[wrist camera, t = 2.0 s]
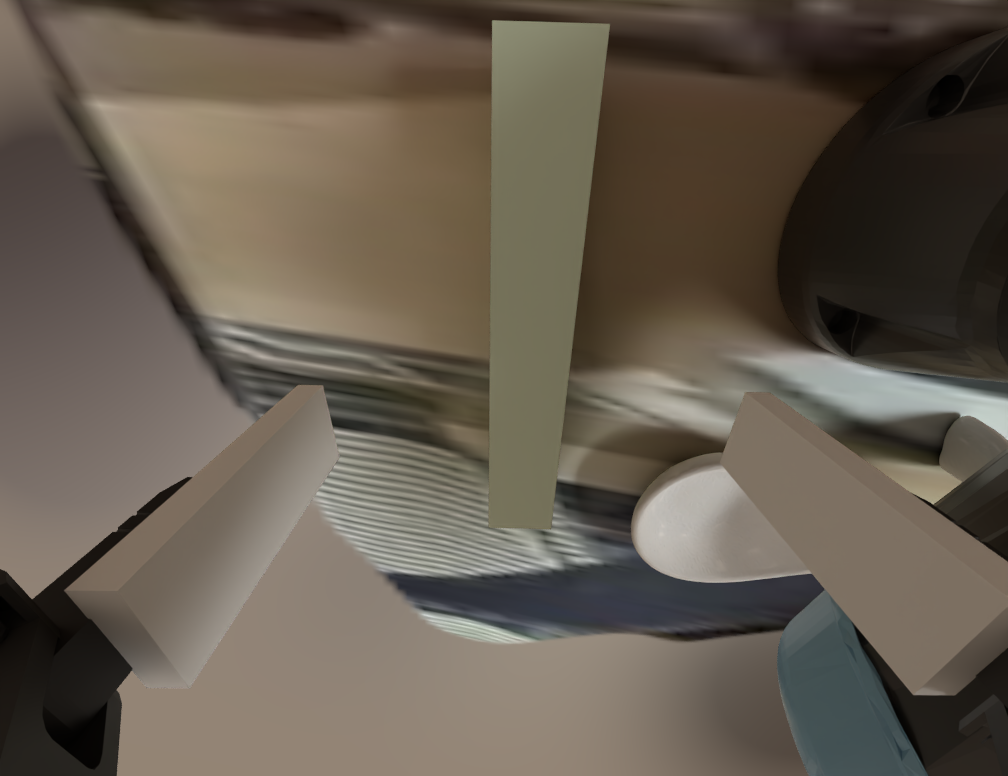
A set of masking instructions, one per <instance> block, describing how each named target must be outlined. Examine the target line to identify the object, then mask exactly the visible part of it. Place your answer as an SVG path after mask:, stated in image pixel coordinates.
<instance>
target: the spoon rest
mask: <svg viewBox="0 0 1008 776" xmlns="http://www.w3.org/2000/svg"><path fill="white" fill-rule="evenodd" d="M1007 448H1008V440H1006V439H1005V438H1004V437H1003V436H1002V435H1001V434H999V433H998V432H997V431H995V430H994V429H992V428H991V427H989V426H987V425H986V424H984V423H983V422H981V421H979V420H978V419H976V418H974V417H971V416H963V417H960V418H958V419H957V420H956V421H955V422H954V423H953V424H952V425H951V427H950V428H949V430H948V432H947V434H946V436H945V439H944V444H943V449H942V452H941V454H940V458H939V464H940V466H941V468H943V469H944V470H945V471H947V472H948V473H950V474H952V475H953V476H954V477H956V478H957V479H959V480H960V481H962V482H964V481H965V480H966V479H968V478H969V477H970V476H972V475H973V474H974V473H976V472H977V471H978V470H980V469H981V468H982V467H983V466H985V465H986V464H987V463H989V462H990V461H991V460H993V459H994V458H995V457H997V456H998V455H999V454H1001V453H1002V452H1003V451H1004V450H1006V449H1007ZM722 455H723V453H710V454H704V455H700V456H696V457H693V458H690V459H687V460H685V461H682V462H680V463H678V464H676V465H674V466H672V467H671V468H669V469H667V470H666V471H665V472H663V473H662V474H661V475H659V476H658V477H657V478H656V479H655V480H654V481H653V482H652V483H651V484H650V485H649V486H648V488H647V489H646V490H645V491H644V493H643V494H642V496H641V497H640V499H639V501H638V503H637V505H636V507H635V509H634V513H633V517H632V522H631V536H632V541H633V544H634V547H635V549H636V550H637V552H638V554H639V555H640V556H641V558H642V559H643V560H644V561H645V562H646V563H648V564H649V565H650V566H651V567H652V568H654V569H656V570H657V571H659V572H661V573H664V574H666V575H669V576H671V577H675V578H678V579H683V580H689V581H697V582H714V583H718V582H738V581H748V580H758V579H766V578H775V577H783V576H791V575H800V574H811V572H810V571H809V569H808V568H807V567H806V566H805V564H804V563H803V562H802V561H801V560H800V558H799V557H798V556H797V555H796V554H795V552H794V551H793V550H792V549H791V548H790V546H789V545H788V544H787V543H786V542H785V540H784V539H783V538H782V537H781V536H780V534H779V533H778V532H777V531H776V530H775V528H774V527H773V526H772V525H771V524H770V522H769V521H768V520H767V519H766V518H765V516H764V515H763V514H762V513H761V512H760V510H759V509H758V508H757V507H756V506H755V504H754V503H753V502H752V501H751V500H750V498H749V497H748V496H747V495H746V494H745V492H744V491H743V490H742V489H741V488H740V486H739V485H738V484H737V483H736V482H735V480H734V479H733V478H732V477H731V476H730V474H729V473H728V472H727V471H726V470H725V468H724V467H723V466H722V465H721V464H720V460H721V457H722Z"/></svg>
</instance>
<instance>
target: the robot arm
mask: <svg viewBox="0 0 1008 776" xmlns="http://www.w3.org/2000/svg"><path fill="white" fill-rule="evenodd" d="M778 279H779V288H780V294H781V298H782V302H783V304H784V307H785V310H786V312H787V314H788V316H789V318H790V319H791V321H792V323H793V324H794V325H795V327H796V328H797V329H798V330H799V331H800V332H801V333H802V334H803V335H804V336H805V337H806V338H807V339H808V340H810V341H811V342H813V343H814V344H816V345H818V346H820V347H821V348H823V349H826V350H828V351H830V352H832V353H835V354H837V355H839V356H841V357H844V358H846V359H848V360H851V361H853V362H855V363H859V364H862V365H866V366H870V367H874V368H879V369H886V370H894V371H904V372H913V373H923V374H932V375H941V376H951V377H960V378H970V379H979V380H989V381H998V382H1007V383H1008V27H1006V28H1003V29H1000V30H997V31H994V32H992V33H989V34H986V35H983V36H980V37H978V38H975V39H972V40H969V41H966V42H964V43H961V44H958V45H956V46H954V47H951V48H949V49H947V50H945V51H942V52H940V53H938V54H937V55H935V56H933V57H931V58H929V59H927V60H925V61H924V62H922V63H920V64H919V65H917V66H915V67H914V68H912V69H911V70H909V71H908V72H906V73H905V74H903V75H902V76H900V77H899V78H897V79H896V80H895V81H893V82H892V83H891V84H889V85H888V86H887V87H885V88H884V89H883V90H882V91H881V92H879V93H878V94H877V95H876V96H875V97H873V98H872V99H871V100H870V101H869V102H868V103H867V104H866V105H865V106H864V107H863V108H861V109H860V110H859V111H858V112H857V113H856V114H855V115H854V116H853V118H852V119H851V120H850V121H849V122H848V123H847V124H846V125H845V126H844V127H843V128H842V130H841V131H840V132H839V133H838V134H837V135H836V137H835V138H834V139H833V140H832V142H831V143H830V144H829V145H828V147H827V148H826V149H825V151H824V152H823V153H822V155H821V156H820V158H819V159H818V161H817V162H816V164H815V165H814V167H813V168H812V170H811V171H810V173H809V175H808V177H807V178H806V180H805V182H804V184H803V185H802V187H801V189H800V191H799V193H798V195H797V197H796V200H795V202H794V204H793V207H792V209H791V212H790V214H789V217H788V220H787V223H786V226H785V229H784V233H783V237H782V241H781V247H780V253H779V263H778ZM339 457H340V456H339V452H338V448H337V443H336V439H335V435H334V431H333V426H332V422H331V418H330V414H329V410H328V405H327V401H326V397H325V393H324V388H323V385H297V386H296V387H295V388H294V389H293V390H292V391H291V392H289V393H288V394H287V395H286V396H285V397H284V398H283V399H281V400H280V401H279V402H278V403H277V404H276V405H275V406H274V407H272V408H271V409H270V410H269V411H268V412H267V413H266V414H264V415H263V416H262V417H261V418H260V419H259V420H258V421H256V422H255V423H254V424H253V425H252V426H251V427H250V428H248V429H247V430H246V431H245V432H244V433H243V434H242V435H241V436H240V437H238V438H237V439H236V440H235V441H234V442H233V443H232V444H230V445H229V446H228V447H227V448H226V449H225V450H223V451H222V452H221V453H220V454H219V455H218V456H217V457H216V458H214V459H213V460H212V461H211V462H210V463H209V464H208V465H206V466H205V467H204V468H203V469H202V470H201V471H200V472H198V473H197V474H196V475H195V476H194V477H187V478H185V479H183V480H181V481H180V482H178V483H176V484H174V485H173V486H171V487H169V488H167V489H165V490H164V491H162V492H160V493H159V494H157V495H156V496H155V497H154V498H153V499H152V500H151V501H149V502H148V503H147V504H146V505H144V506H143V507H142V508H141V509H140V510H139V511H137V515H136V516H131V517H130V518H129V519H128V520H127V521H125V522H124V523H123V524H122V525H121V526H119V527H118V531H117V532H112V533H111V534H110V535H109V536H108V537H106V538H105V539H104V540H103V541H102V542H100V543H99V544H98V545H97V546H95V547H94V548H93V549H92V550H91V551H90V552H89V553H87V554H86V555H85V556H84V557H82V558H81V559H80V560H79V561H78V562H77V563H75V564H74V565H73V566H72V567H70V568H69V569H68V570H67V571H66V572H64V573H63V574H62V575H61V576H60V577H59V578H57V579H56V580H55V581H54V582H53V583H51V584H50V585H49V586H48V587H47V588H45V589H44V590H43V591H42V592H41V593H40V594H38V595H37V596H36V597H35V598H34V599H31V598H30V597H29V596H28V595H27V594H26V593H25V591H24V590H23V589H22V588H21V587H20V586H19V585H18V584H17V583H16V582H15V581H14V580H13V579H12V577H11V576H10V575H9V574H8V573H7V572H5V571H3V570H1V569H0V776H117V763H118V750H119V734H120V722H121V708H122V703H121V699H120V695H119V693H118V692H117V690H116V689H117V688H118V687H119V685H120V684H121V683H122V682H123V681H124V679H125V678H126V677H127V676H128V674H129V673H130V672H131V671H133V672H134V673H135V675H136V676H137V677H138V678H139V679H140V681H141V682H142V683H143V684H144V685H145V686H146V688H190V687H191V685H192V684H193V682H194V681H195V679H196V678H197V676H198V675H199V673H200V672H201V670H202V669H203V667H204V665H205V664H206V662H207V661H208V659H209V658H210V656H211V655H212V653H213V652H214V650H215V648H216V647H217V645H218V644H219V642H220V641H221V639H222V638H223V636H224V635H225V633H226V632H227V630H228V628H229V627H230V625H231V624H232V622H233V621H234V619H235V618H236V616H237V614H238V613H239V612H240V610H241V608H242V606H243V605H244V604H245V602H246V601H247V599H248V598H249V596H250V595H251V593H252V591H253V590H254V588H255V587H256V585H257V584H258V582H259V581H260V579H261V578H262V576H263V575H264V573H265V571H266V570H267V568H268V567H269V565H270V564H271V562H272V561H273V559H274V557H275V556H276V555H277V553H278V551H279V550H280V548H281V547H282V545H283V544H284V542H285V541H286V539H287V538H288V536H289V534H290V533H291V531H292V530H293V528H294V527H295V525H296V523H297V522H298V520H299V519H300V518H301V516H302V514H303V513H304V511H305V510H306V508H307V507H308V505H309V504H310V502H311V501H312V499H313V498H314V496H315V494H316V493H317V491H318V490H319V488H320V487H321V485H322V484H323V482H324V481H325V479H326V477H327V476H328V474H329V473H330V471H331V470H332V468H333V467H334V465H335V464H336V462H337V461H338V459H339ZM720 464H721V465H722V466H723V467H724V468H725V470H726V471H727V472H728V473H729V474H730V476H731V477H732V478H733V479H734V480H735V482H736V483H737V484H738V485H739V486H740V488H741V489H742V490H743V491H744V492H745V494H746V495H747V496H748V497H749V498H750V500H751V501H752V502H753V503H754V504H755V506H756V507H757V508H758V509H759V510H760V512H761V513H762V514H763V515H764V516H765V518H766V519H767V520H768V521H769V522H770V524H771V525H772V526H773V527H774V528H775V530H776V531H777V532H778V533H779V534H780V536H781V537H782V538H783V539H784V540H785V542H786V543H787V544H788V545H789V546H790V548H791V549H792V550H793V551H794V552H795V554H796V555H797V556H798V557H799V558H800V560H801V561H802V562H803V563H804V564H805V566H806V567H807V568H808V569H809V571H810V572H811V573H812V574H813V575H814V577H815V578H816V579H817V580H818V581H819V583H820V584H821V585H822V586H823V587H824V589H825V590H824V591H823V592H822V593H821V594H820V595H819V596H818V597H817V598H815V599H814V600H813V601H812V602H811V603H810V604H809V605H808V606H807V607H806V608H804V609H803V610H802V611H801V612H800V613H799V614H798V615H797V616H796V617H795V618H793V619H792V620H791V621H790V623H789V624H788V625H787V627H786V628H785V630H784V632H783V634H782V637H781V639H780V643H779V647H778V658H777V659H778V660H777V662H778V663H777V666H778V680H779V685H780V692H781V697H782V701H783V705H784V709H785V712H786V715H787V719H788V722H789V725H790V728H791V732H792V734H793V737H794V740H795V743H796V746H797V748H798V751H799V754H800V756H801V759H802V761H803V763H804V766H805V768H806V770H807V773H808V774H809V776H1008V448H1007V449H1006V450H1004V451H1003V452H1002V453H1001V454H999V455H998V456H997V457H995V458H994V459H993V460H991V461H990V462H989V463H987V464H986V465H985V466H983V467H982V468H981V469H980V470H978V471H977V472H976V473H974V474H973V475H972V476H970V477H969V478H968V479H966V480H965V481H964V482H963V483H961V484H960V485H959V486H957V487H956V488H955V489H953V490H952V491H951V492H949V493H948V494H947V495H945V496H944V497H943V498H942V499H940V500H939V501H938V502H936V503H935V504H934V505H933V504H931V503H930V502H928V501H926V500H924V499H922V498H920V497H918V496H916V495H914V494H912V493H911V492H909V491H907V490H906V489H905V488H903V487H902V486H900V485H899V484H898V483H896V482H895V481H893V480H892V479H891V478H889V477H888V476H886V475H885V474H884V473H882V472H881V471H879V470H878V469H876V468H875V467H874V466H872V465H871V464H869V463H868V462H867V461H865V460H864V459H862V458H861V457H860V456H858V455H857V454H855V453H854V452H853V451H851V450H850V449H848V448H847V447H846V446H844V445H843V444H841V443H840V442H838V441H837V440H836V439H834V438H833V437H831V436H830V435H829V434H827V433H826V432H824V431H823V430H822V429H820V428H819V427H817V426H816V425H815V424H813V423H812V422H810V421H809V420H808V419H806V418H805V417H803V416H802V415H801V414H799V413H798V412H796V411H795V410H793V409H792V408H791V407H789V406H788V405H786V404H785V403H784V402H782V401H781V400H779V399H778V398H777V397H775V396H774V395H772V394H771V393H763V392H745V394H744V397H743V400H742V403H741V405H740V408H739V411H738V414H737V416H736V419H735V422H734V425H733V427H732V430H731V433H730V436H729V438H728V441H727V444H726V446H725V449H724V452H723V455H722V457H721V460H720Z"/></svg>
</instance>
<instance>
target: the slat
mask: <svg viewBox="0 0 1008 776" xmlns="http://www.w3.org/2000/svg"><path fill="white" fill-rule="evenodd" d="M609 28H610V24H597V23H563V22H529V21H495V20H492V117H491V255H490V392H489V528H528V529H551V524H552V516H553V507H554V499H555V490H556V481H557V473H558V464H559V456H560V447H561V439H562V430H563V422H564V413H565V405H566V396H567V387H568V379H569V370H570V362H571V353H572V345H573V336H574V328H575V319H576V311H577V302H578V293H579V285H580V276H581V268H582V259H583V251H584V242H585V234H586V225H587V216H588V208H589V199H590V191H591V182H592V174H593V165H594V157H595V148H596V140H597V131H598V122H599V114H600V105H601V97H602V88H603V80H604V71H605V63H606V54H607V46H608V37H609Z"/></svg>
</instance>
